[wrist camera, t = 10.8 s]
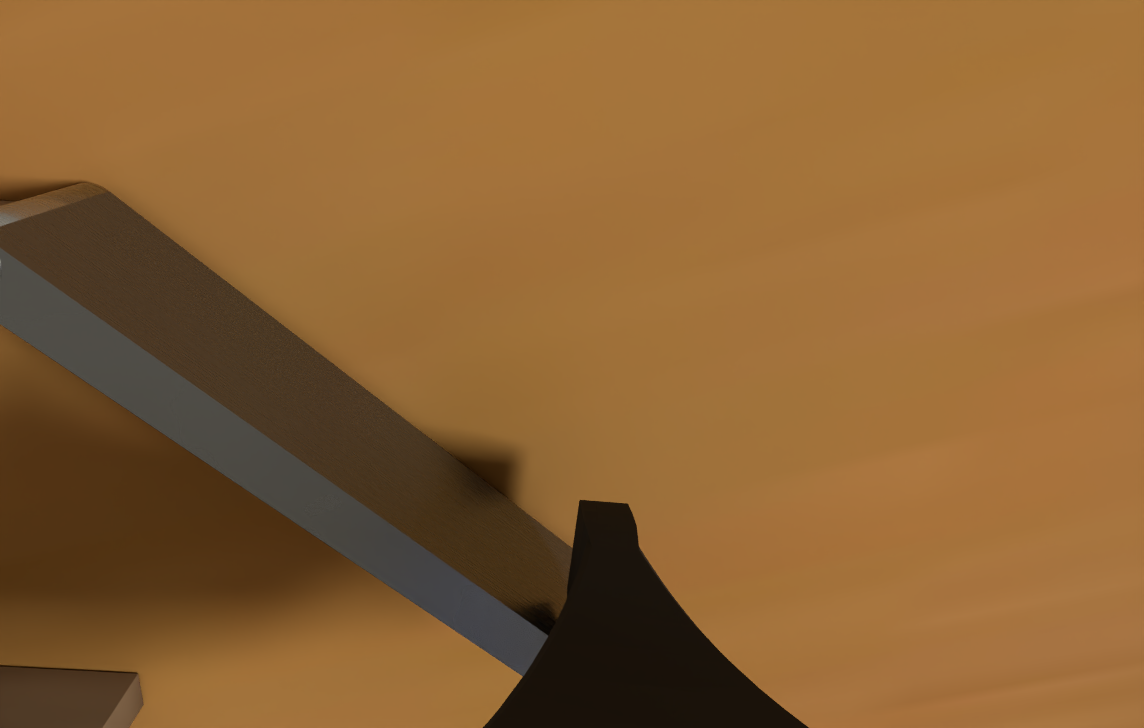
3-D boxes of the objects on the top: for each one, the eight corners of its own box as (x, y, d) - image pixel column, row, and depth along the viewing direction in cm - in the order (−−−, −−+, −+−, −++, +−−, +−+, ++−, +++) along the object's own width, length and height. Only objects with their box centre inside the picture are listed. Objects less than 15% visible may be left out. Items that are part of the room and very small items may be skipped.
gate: (605, 574, 16) (618, 685, 13) (573, 600, 16) (579, 714, 13) (81, 169, 12) (-59, 205, 9) (51, 212, 12) (-94, 260, 9)
